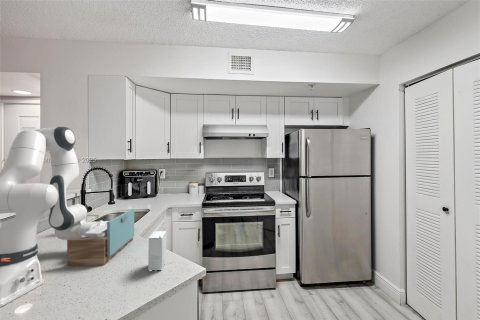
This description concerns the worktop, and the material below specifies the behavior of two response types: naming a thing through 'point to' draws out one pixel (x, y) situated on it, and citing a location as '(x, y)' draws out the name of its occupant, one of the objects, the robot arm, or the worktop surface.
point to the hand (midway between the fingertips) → (118, 229)
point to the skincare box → (157, 250)
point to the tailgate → (119, 231)
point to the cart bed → (89, 251)
